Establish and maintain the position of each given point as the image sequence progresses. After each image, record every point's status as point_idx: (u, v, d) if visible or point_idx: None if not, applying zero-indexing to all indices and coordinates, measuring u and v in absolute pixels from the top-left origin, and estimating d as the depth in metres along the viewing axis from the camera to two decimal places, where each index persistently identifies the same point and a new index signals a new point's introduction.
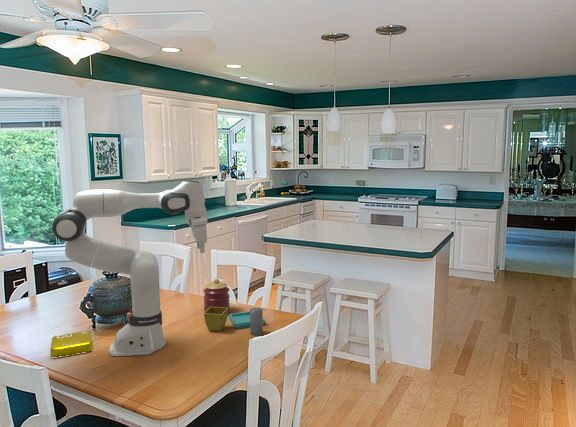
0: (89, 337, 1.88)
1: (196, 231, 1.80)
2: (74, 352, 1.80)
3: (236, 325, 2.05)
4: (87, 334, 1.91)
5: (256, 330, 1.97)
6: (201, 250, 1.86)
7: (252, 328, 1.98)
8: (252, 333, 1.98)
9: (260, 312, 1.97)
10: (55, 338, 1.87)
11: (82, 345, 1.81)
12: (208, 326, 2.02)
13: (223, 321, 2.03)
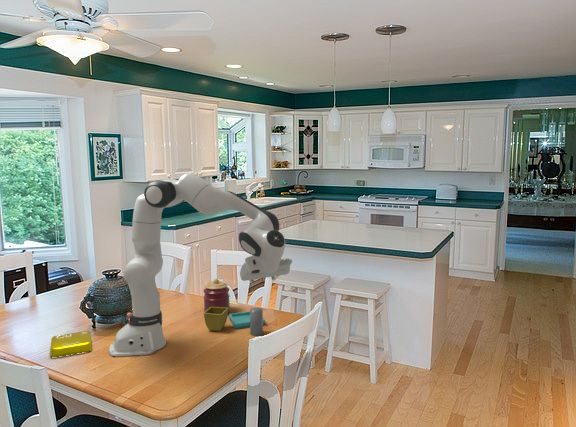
0: (88, 337, 1.88)
1: (242, 266, 1.76)
2: (74, 352, 1.80)
3: (236, 325, 2.05)
4: (87, 334, 1.91)
5: (256, 330, 1.97)
6: None
7: (252, 328, 1.98)
8: (252, 333, 1.98)
9: (260, 312, 1.97)
10: (55, 338, 1.87)
11: (82, 345, 1.81)
12: (208, 326, 2.02)
13: (223, 321, 2.03)
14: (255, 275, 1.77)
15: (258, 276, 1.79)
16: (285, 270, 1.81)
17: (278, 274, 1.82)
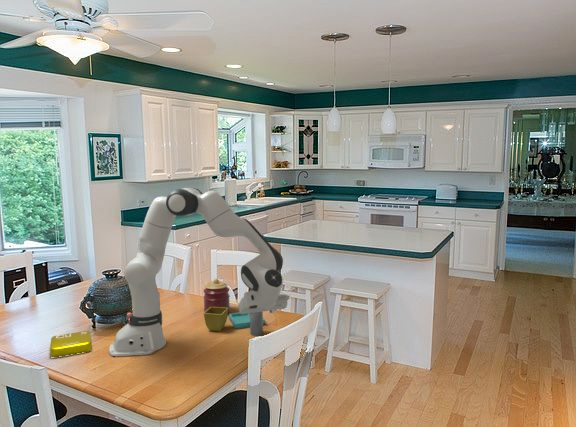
0: (88, 337, 1.88)
1: (241, 300, 1.82)
2: (73, 352, 1.80)
3: (236, 325, 2.05)
4: (86, 334, 1.91)
5: (256, 330, 1.97)
6: None
7: (252, 328, 1.98)
8: (252, 333, 1.98)
9: (260, 312, 1.97)
10: (54, 338, 1.87)
11: (81, 345, 1.81)
12: (208, 326, 2.02)
13: (223, 321, 2.03)
14: (253, 309, 1.83)
15: (255, 310, 1.84)
16: (282, 305, 1.87)
17: (275, 308, 1.88)
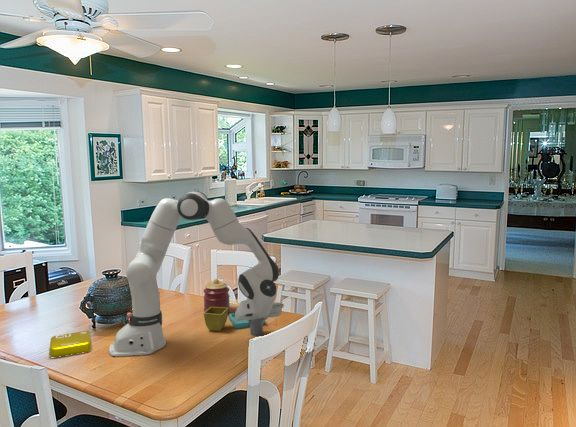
0: (88, 337, 1.88)
1: (237, 308, 1.91)
2: (73, 352, 1.80)
3: (236, 325, 2.05)
4: (86, 334, 1.91)
5: (256, 330, 1.97)
6: None
7: (252, 328, 1.98)
8: (252, 333, 1.98)
9: None
10: (54, 338, 1.87)
11: (81, 345, 1.81)
12: (208, 326, 2.02)
13: (223, 321, 2.03)
14: (249, 317, 1.92)
15: (251, 317, 1.93)
16: (276, 313, 1.95)
17: (270, 316, 1.96)
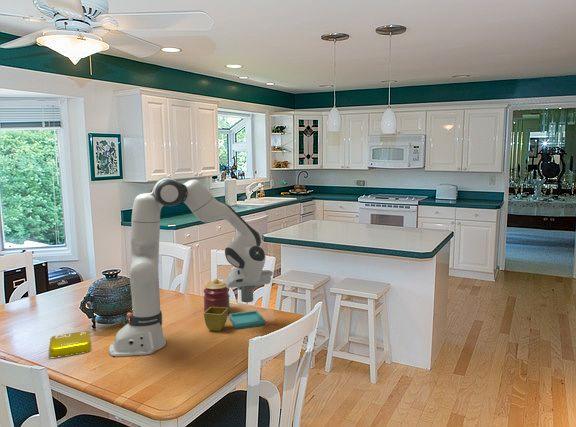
0: (87, 337, 1.88)
1: (228, 275, 2.01)
2: (72, 352, 1.80)
3: (236, 325, 2.05)
4: (86, 334, 1.91)
5: (246, 297, 2.08)
6: None
7: (243, 295, 2.08)
8: (243, 300, 2.08)
9: None
10: (54, 338, 1.87)
11: (81, 345, 1.81)
12: (208, 326, 2.02)
13: (223, 321, 2.03)
14: (239, 283, 2.02)
15: (242, 284, 2.03)
16: (266, 280, 2.05)
17: (260, 283, 2.07)
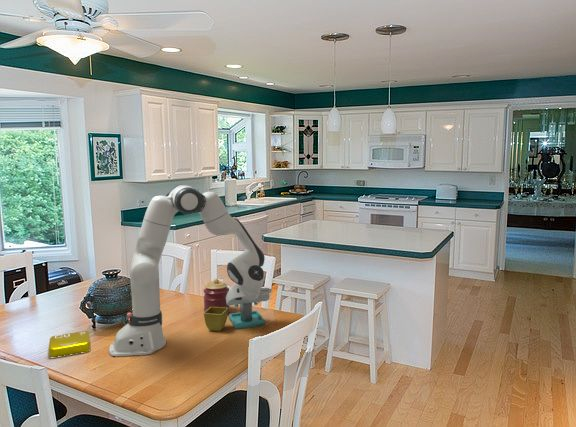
0: (87, 337, 1.88)
1: (228, 293, 2.04)
2: (72, 352, 1.80)
3: (236, 325, 2.05)
4: (85, 334, 1.91)
5: (246, 316, 2.11)
6: None
7: (242, 314, 2.11)
8: (242, 319, 2.12)
9: None
10: (53, 338, 1.87)
11: (80, 345, 1.81)
12: (208, 326, 2.02)
13: (223, 321, 2.03)
14: (239, 301, 2.05)
15: (241, 302, 2.06)
16: (265, 297, 2.08)
17: (259, 300, 2.10)
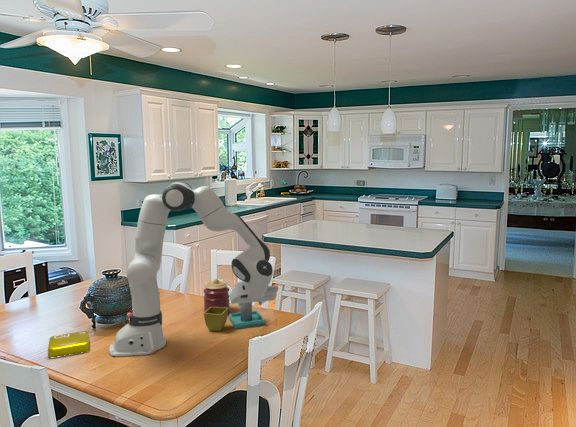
0: (86, 337, 1.88)
1: (232, 290, 1.92)
2: (71, 352, 1.80)
3: (236, 325, 2.05)
4: (85, 334, 1.91)
5: (246, 316, 2.11)
6: (238, 303, 1.99)
7: (242, 314, 2.11)
8: (242, 319, 2.12)
9: None
10: (53, 338, 1.87)
11: (80, 345, 1.81)
12: (208, 326, 2.02)
13: (223, 321, 2.03)
14: (243, 299, 1.93)
15: (246, 300, 1.94)
16: (271, 296, 1.97)
17: (265, 300, 1.98)
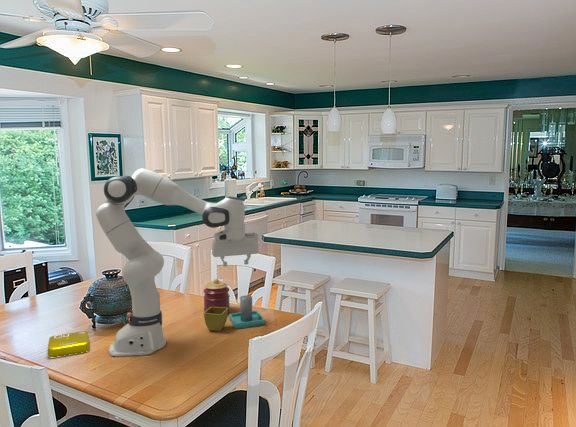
0: (86, 337, 1.88)
1: None
2: (71, 352, 1.80)
3: (236, 325, 2.05)
4: (84, 334, 1.91)
5: (246, 316, 2.11)
6: (223, 263, 1.95)
7: (242, 314, 2.11)
8: (242, 319, 2.12)
9: (250, 299, 2.11)
10: (52, 338, 1.87)
11: (79, 345, 1.81)
12: (208, 326, 2.02)
13: (223, 321, 2.03)
14: (225, 249, 1.92)
15: (228, 251, 1.93)
16: (253, 245, 1.96)
17: (248, 251, 1.96)
